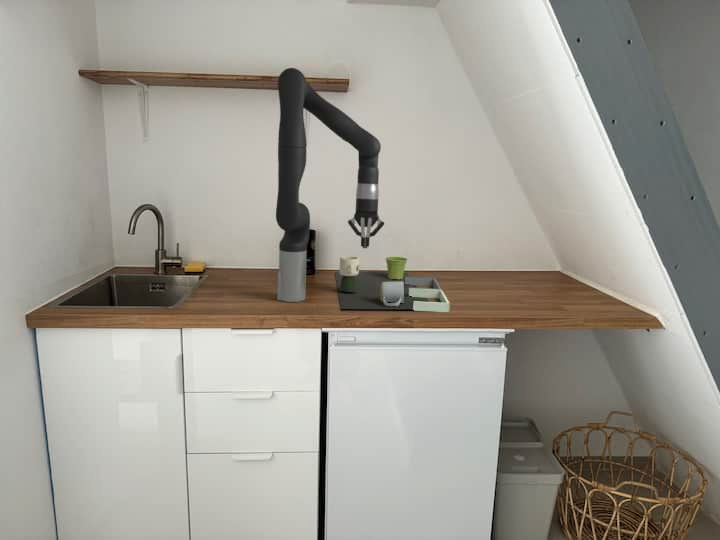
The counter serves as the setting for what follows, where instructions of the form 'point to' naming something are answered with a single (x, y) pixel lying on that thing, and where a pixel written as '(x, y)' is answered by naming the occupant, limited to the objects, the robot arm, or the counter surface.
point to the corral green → (429, 305)
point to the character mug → (349, 273)
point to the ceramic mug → (392, 293)
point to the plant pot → (395, 267)
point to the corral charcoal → (422, 282)
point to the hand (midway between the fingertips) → (364, 248)
